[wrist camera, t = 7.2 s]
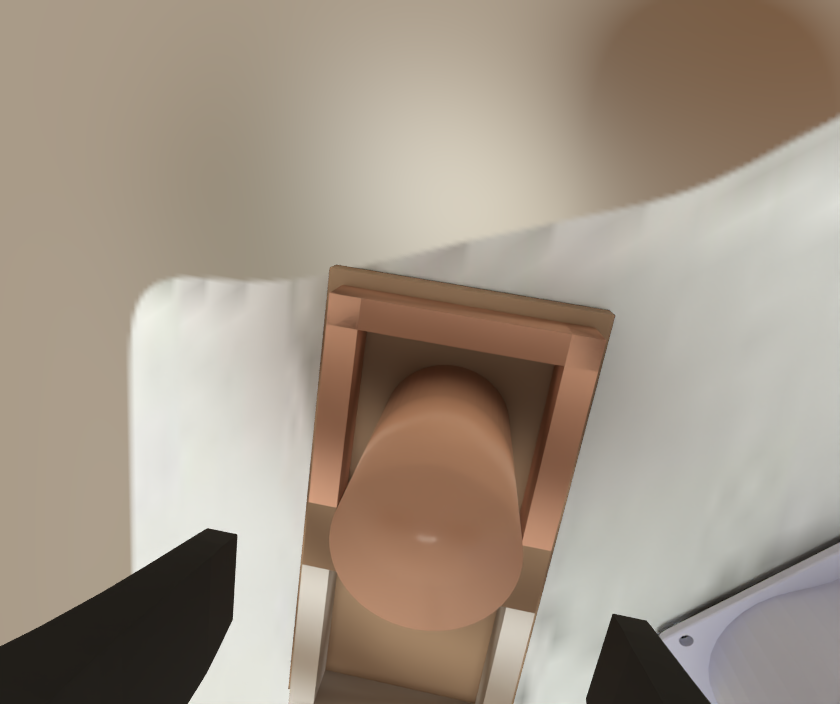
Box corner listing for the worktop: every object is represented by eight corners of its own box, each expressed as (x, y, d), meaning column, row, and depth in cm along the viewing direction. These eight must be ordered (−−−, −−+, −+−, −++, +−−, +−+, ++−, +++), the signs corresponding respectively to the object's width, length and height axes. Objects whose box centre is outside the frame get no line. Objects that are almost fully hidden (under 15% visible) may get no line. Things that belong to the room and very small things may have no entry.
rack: (336, 264, 18) (314, 273, 16) (609, 310, 18) (628, 327, 15) (294, 673, 24) (274, 724, 21) (503, 720, 23) (505, 778, 21)
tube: (456, 339, 18) (438, 425, 11) (535, 436, 18) (563, 573, 12) (359, 412, 19) (290, 530, 12) (437, 501, 20) (411, 659, 13)
